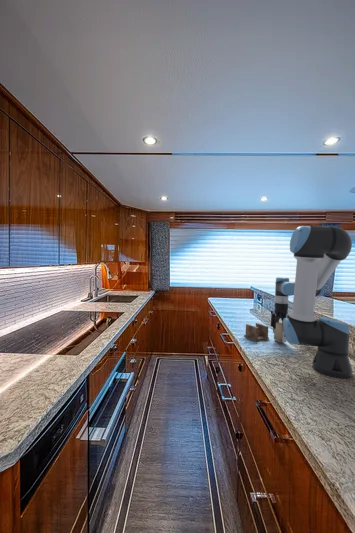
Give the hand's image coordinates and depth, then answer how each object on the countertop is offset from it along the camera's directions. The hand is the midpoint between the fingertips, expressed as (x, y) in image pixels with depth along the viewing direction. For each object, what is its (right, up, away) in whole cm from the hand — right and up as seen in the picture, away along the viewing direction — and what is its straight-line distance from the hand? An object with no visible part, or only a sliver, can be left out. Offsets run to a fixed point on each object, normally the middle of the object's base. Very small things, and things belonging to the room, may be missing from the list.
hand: (279, 340), depth 141 cm
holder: (-12, -1, +7) cm, 14 cm away
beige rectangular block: (0, 0, 0) cm, 0 cm away
